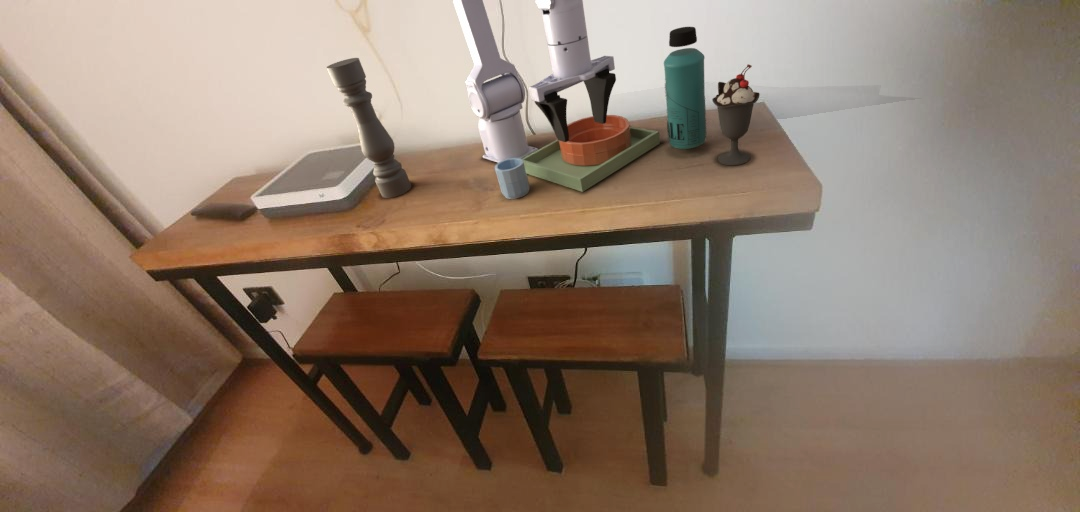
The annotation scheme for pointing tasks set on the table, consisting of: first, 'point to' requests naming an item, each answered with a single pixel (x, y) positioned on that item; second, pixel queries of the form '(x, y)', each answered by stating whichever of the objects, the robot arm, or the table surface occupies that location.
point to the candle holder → (369, 127)
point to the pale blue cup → (512, 178)
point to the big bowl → (595, 140)
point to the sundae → (735, 115)
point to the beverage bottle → (685, 91)
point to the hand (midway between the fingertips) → (582, 131)
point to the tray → (583, 177)
